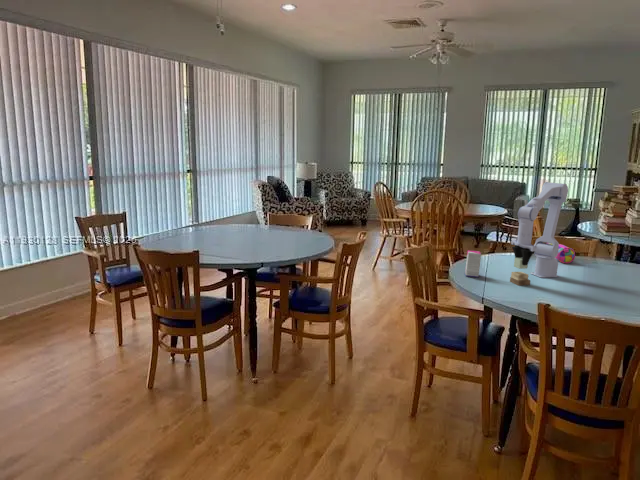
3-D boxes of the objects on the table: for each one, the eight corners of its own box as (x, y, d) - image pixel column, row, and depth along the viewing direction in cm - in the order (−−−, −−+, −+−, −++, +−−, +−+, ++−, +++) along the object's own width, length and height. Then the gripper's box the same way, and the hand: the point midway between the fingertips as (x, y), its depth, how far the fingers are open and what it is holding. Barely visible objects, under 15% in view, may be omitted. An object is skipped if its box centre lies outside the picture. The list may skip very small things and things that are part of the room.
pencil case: (540, 254, 281) (542, 239, 279) (556, 255, 281) (558, 239, 279) (558, 264, 260) (560, 247, 258) (576, 264, 260) (578, 247, 258)
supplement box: (478, 277, 228) (481, 253, 226) (465, 276, 229) (467, 252, 227) (477, 274, 233) (479, 251, 231) (464, 273, 235) (466, 250, 232)
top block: (521, 266, 222) (522, 257, 221) (527, 268, 218) (528, 259, 217) (513, 266, 221) (514, 257, 220) (519, 268, 217) (520, 259, 216)
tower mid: (520, 276, 224) (521, 271, 223) (527, 280, 219) (528, 274, 218) (511, 277, 222) (511, 271, 222) (518, 280, 218) (518, 274, 217)
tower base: (521, 281, 225) (521, 276, 224) (529, 285, 219) (530, 280, 219) (509, 282, 223) (510, 277, 223) (518, 286, 218) (518, 280, 217)
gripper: (507, 230, 223) (503, 260, 225) (527, 237, 209) (524, 268, 212) (520, 230, 224) (517, 259, 227) (542, 236, 211) (538, 267, 213)
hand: (521, 263), depth 219 cm, fingers closed on top block, 4 cm apart
